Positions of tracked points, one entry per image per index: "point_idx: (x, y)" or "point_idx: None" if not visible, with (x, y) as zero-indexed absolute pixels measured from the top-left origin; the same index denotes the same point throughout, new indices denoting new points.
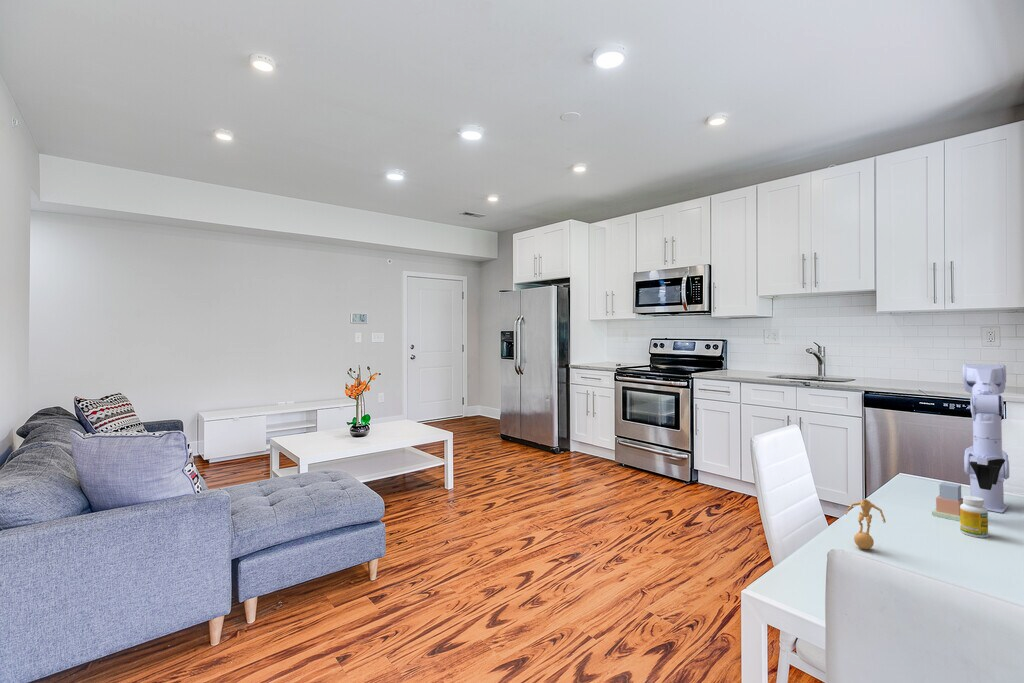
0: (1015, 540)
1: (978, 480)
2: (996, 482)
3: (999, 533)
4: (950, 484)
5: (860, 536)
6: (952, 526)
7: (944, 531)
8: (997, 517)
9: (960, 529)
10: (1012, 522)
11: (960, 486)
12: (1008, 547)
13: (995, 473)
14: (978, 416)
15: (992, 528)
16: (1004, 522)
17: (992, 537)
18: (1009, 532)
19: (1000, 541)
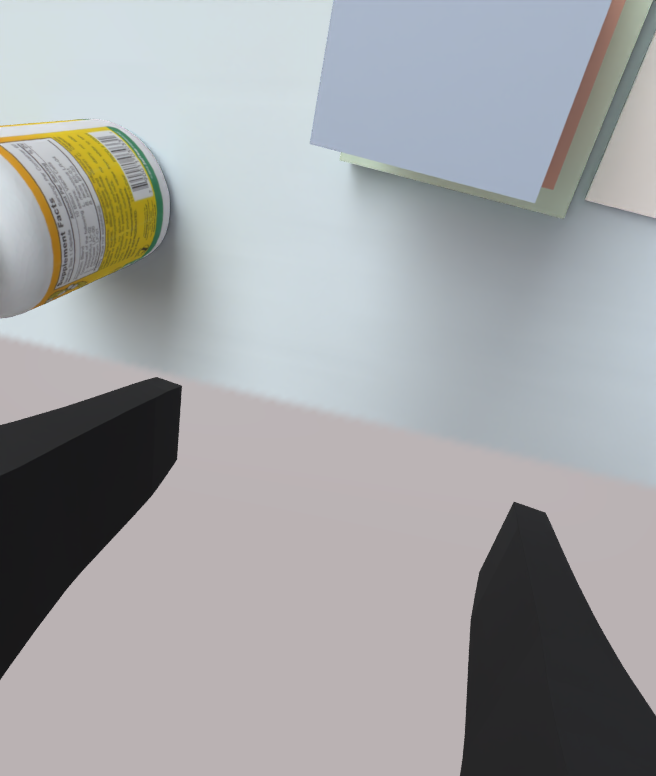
0: (166, 373)
1: (64, 413)
2: (477, 604)
3: (237, 328)
4: (453, 41)
5: None
6: (185, 69)
7: (30, 15)
8: (651, 395)
9: (88, 119)
10: (551, 450)
11: (491, 188)
12: (31, 320)
13: (474, 719)
14: None
15: (318, 311)
16: (522, 406)
17: (132, 280)
18: (295, 380)
19: (93, 304)
